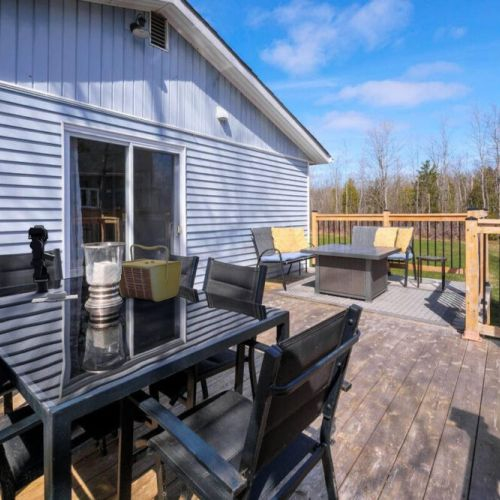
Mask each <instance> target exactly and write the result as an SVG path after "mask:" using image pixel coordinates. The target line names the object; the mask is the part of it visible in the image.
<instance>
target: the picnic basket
mask: <svg viewBox="0 0 500 500" xmlns="http://www.w3.org/2000/svg"><path fill="white" fill-rule="evenodd" d="M133 247H139V248H140V249H143V250H147V251H152V250H154V251H155V250H157V249H159V248H161V249H162V248H164V249H165V251H166V253H165V256H166V257H165V260H159V259H147V258H139V259H134V254H133ZM129 253H130V260H126V261H121V262H122V274H121V280H120V282H119V285H118V288H119V289H118V290H119V294H120V296H122V297H124V298H135V299H140V300H141V299H142V300H147V301H153V302H157V303H159V302H161V301H164V300H168V299H172V298H174V297H176V296H177V295H178V294H179V292H180V291H179V290H180V283H181V277H182V276H181V275H182V269H183V263H182V261H180V260H177V261H174V260H169V254H170V251H169V247H168V246H165V245H155V246H146V245H142V244H135V243H133V244H131V245H130V247H129Z"/></svg>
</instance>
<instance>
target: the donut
mask: <svg viewBox="0 0 500 500" xmlns="http://www.w3.org/2000/svg"><path fill="white" fill-rule="evenodd" d="M66 296H68V293H67V291H65V290H55V291H54V290H53V291H50V292H49V291H48V292H47V294H46V298H48V299H61V298H64V297H66Z"/></svg>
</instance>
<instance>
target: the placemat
mask: <svg viewBox="0 0 500 500" xmlns="http://www.w3.org/2000/svg"><path fill="white" fill-rule="evenodd" d="M76 299H79V297H78V294H70V295H67V296H66V297H64V298H61V299H48V298H47V297H40V298H33V299H32V300H31V304H36V302H39V303H45V302H44V301H48V302H56V300H58V301H65V300H76Z"/></svg>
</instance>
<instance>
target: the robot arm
mask: <svg viewBox="0 0 500 500" xmlns="http://www.w3.org/2000/svg"><path fill="white" fill-rule="evenodd" d="M48 232H49V231H48V229H46V228H45V226H44V224H36V225H34V226H32V227H31V226H30V227H29V228H28V231H27V233H28V234H27V235H28V236H27V237H28V238H27V239H28V240H31V241H30V242H29V249H31V261H30V266H31V267H32V268H33V272H32V281H33V283H34V284H36V291H35V294H39V293H40V294H41V293H49V291H50V289H49V288H48V286H49V285H48V283H49V282H52V275H51V273H50V272H49V270H48V267H47V266H46V261H50V262H54V261H55V258H56V255H55V254H54V253H53V252H49V253H48V252H45V246H46V245H47V244H48V240H49V233H48Z"/></svg>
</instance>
